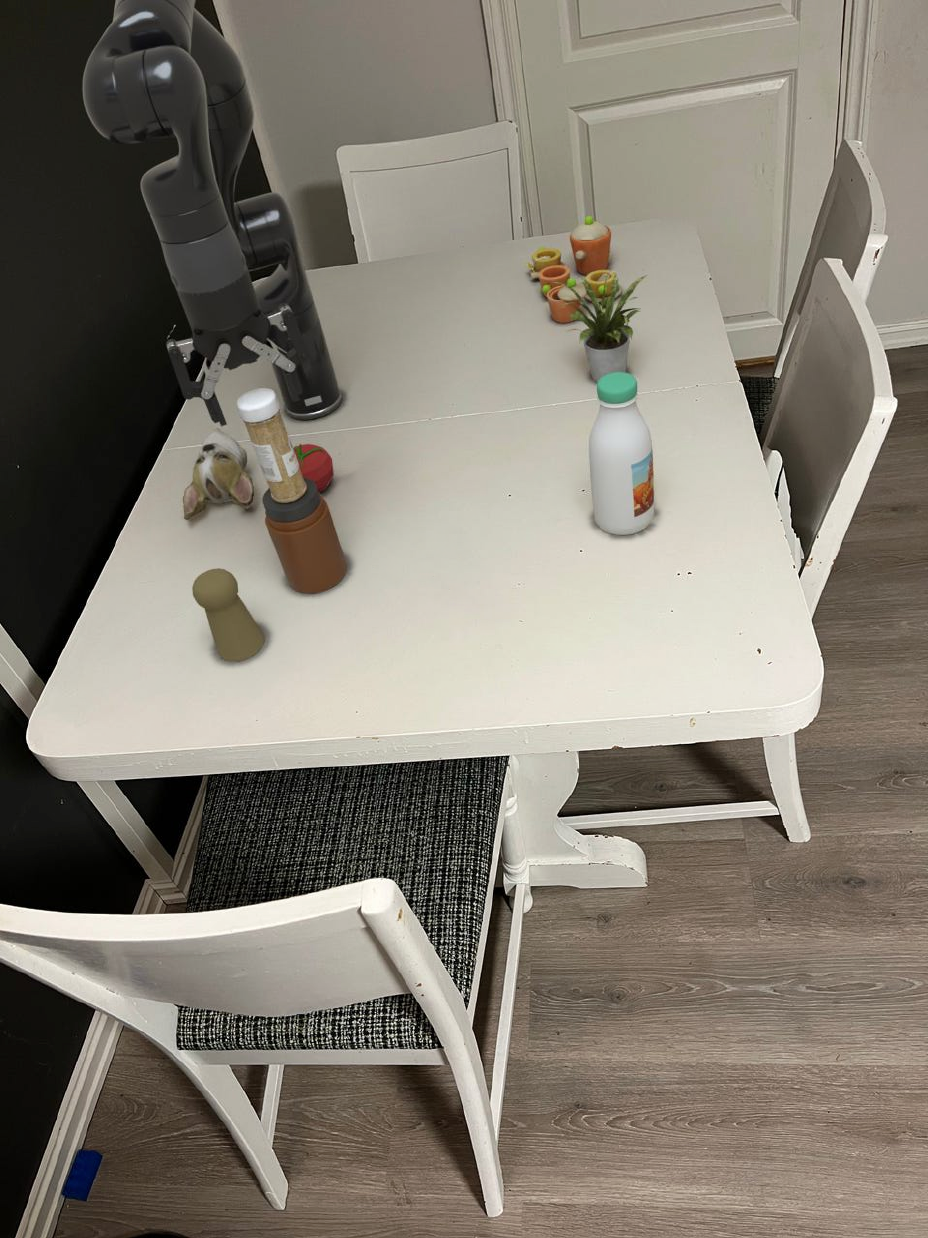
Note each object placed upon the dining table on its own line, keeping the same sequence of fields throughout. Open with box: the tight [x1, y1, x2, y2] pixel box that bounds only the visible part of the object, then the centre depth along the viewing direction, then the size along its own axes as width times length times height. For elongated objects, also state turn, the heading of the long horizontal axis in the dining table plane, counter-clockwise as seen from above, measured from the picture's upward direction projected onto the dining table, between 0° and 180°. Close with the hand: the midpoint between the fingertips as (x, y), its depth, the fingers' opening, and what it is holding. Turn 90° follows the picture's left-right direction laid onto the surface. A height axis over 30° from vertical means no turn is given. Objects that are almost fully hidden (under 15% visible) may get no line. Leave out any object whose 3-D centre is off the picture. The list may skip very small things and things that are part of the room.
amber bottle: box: [261, 477, 348, 595], centre depth 120 cm, size 8×8×13 cm
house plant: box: [553, 272, 648, 384], centre depth 142 cm, size 14×14×16 cm
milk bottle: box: [588, 372, 655, 536], centre depth 115 cm, size 8×8×20 cm
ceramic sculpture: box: [182, 427, 255, 521], centre depth 138 cm, size 11×9×15 cm
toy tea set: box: [526, 215, 622, 324], centre depth 166 cm, size 26×16×10 cm, turn 5°
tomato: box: [292, 443, 335, 494], centre depth 136 cm, size 8×8×8 cm
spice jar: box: [236, 387, 307, 503], centre depth 111 cm, size 5×5×14 cm
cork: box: [191, 567, 266, 663], centre depth 113 cm, size 6×6×11 cm
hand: (259, 410), depth 107 cm, fingers open, 8 cm apart
